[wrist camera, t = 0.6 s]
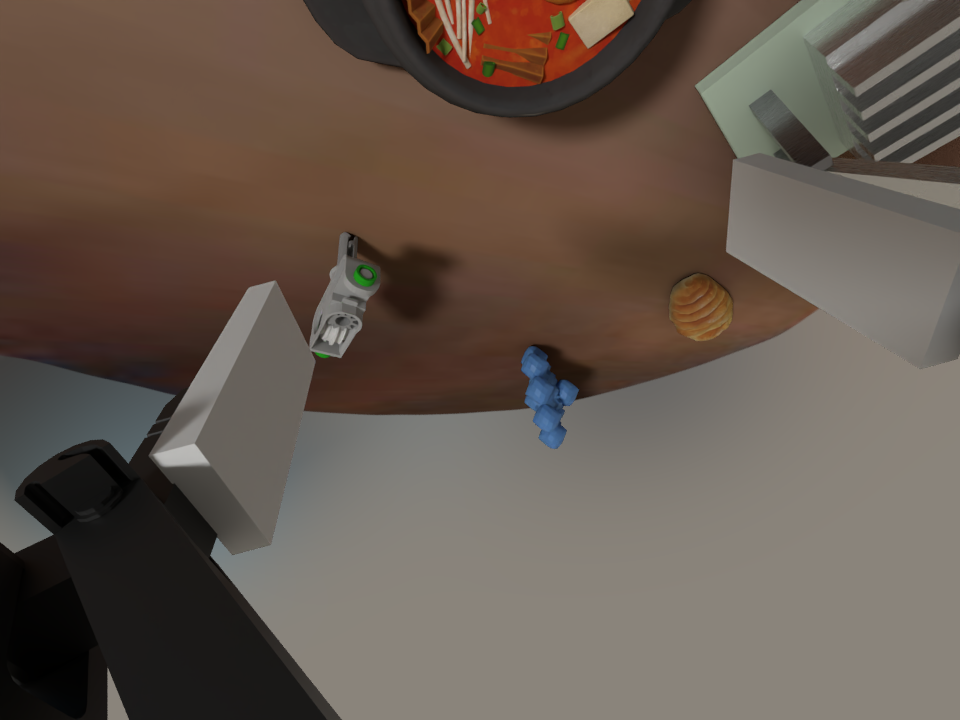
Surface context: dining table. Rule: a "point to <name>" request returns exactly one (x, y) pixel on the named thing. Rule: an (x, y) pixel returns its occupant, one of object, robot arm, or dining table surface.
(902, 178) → the retention strap
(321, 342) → the mechanical component
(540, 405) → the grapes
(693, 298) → the pastry
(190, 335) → the dining table surface
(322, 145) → the dining table surface
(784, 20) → the circuit board
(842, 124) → the heat sink
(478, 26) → the casserole
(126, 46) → the dining table surface
